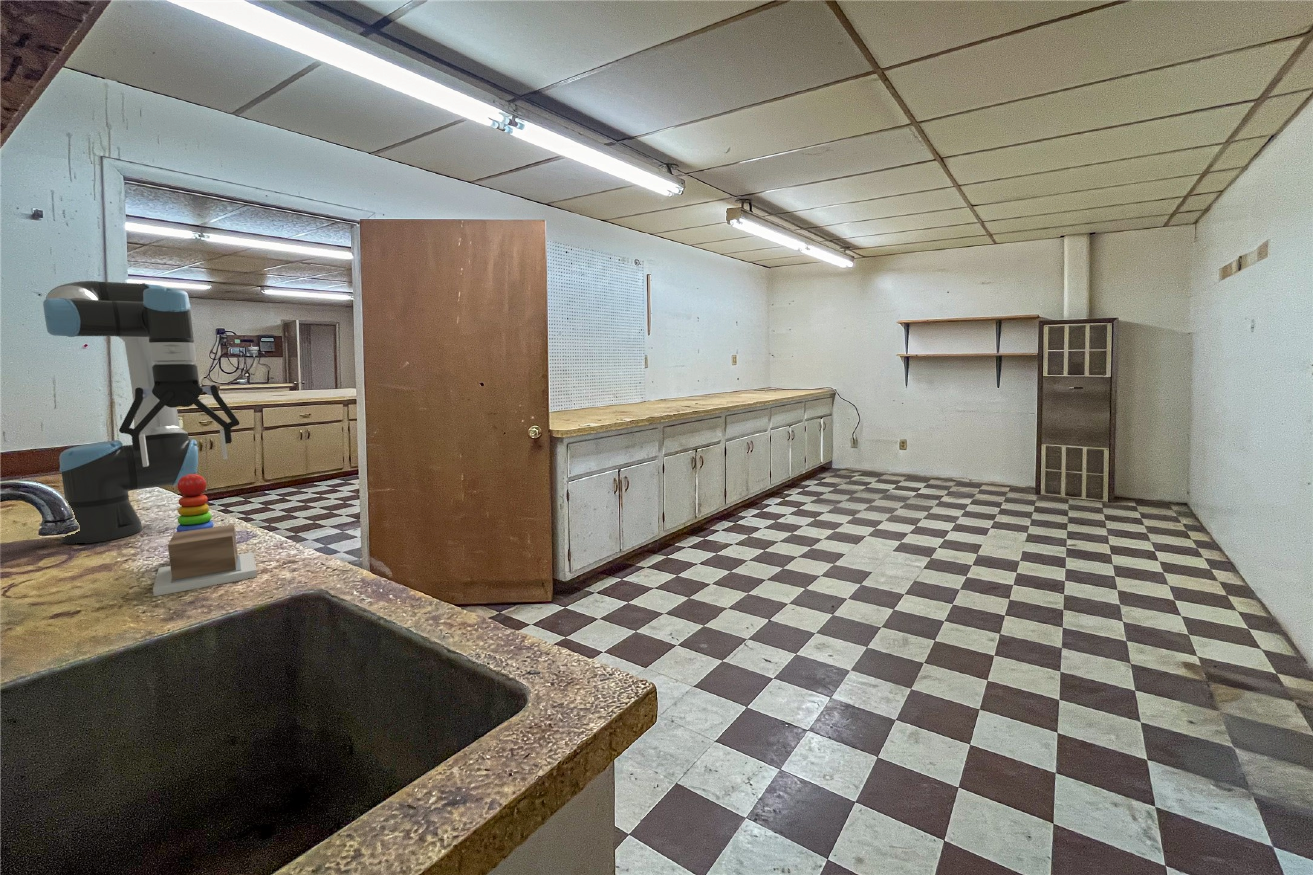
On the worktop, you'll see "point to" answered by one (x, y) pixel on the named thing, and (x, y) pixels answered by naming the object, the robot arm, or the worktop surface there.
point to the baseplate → (204, 577)
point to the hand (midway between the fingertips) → (186, 462)
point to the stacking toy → (193, 504)
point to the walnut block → (203, 552)
